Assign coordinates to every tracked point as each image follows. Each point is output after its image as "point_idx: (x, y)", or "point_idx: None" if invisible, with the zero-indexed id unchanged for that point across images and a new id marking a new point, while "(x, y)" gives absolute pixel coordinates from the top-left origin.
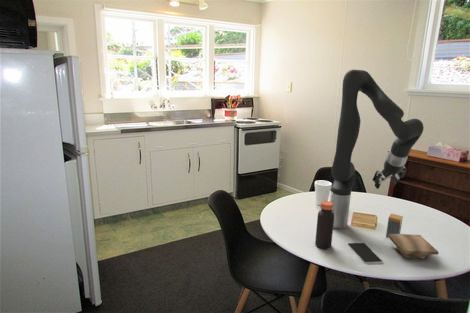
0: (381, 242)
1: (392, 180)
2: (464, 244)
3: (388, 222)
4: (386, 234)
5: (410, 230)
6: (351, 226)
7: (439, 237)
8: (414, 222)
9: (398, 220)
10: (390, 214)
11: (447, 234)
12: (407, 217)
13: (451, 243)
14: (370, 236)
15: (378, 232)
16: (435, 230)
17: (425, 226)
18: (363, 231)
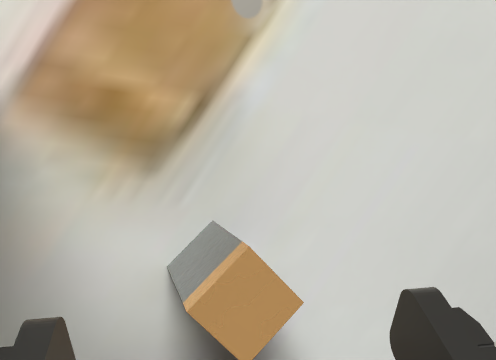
0: (94, 333)
1: (430, 340)
2: None
3: (182, 297)
4: (169, 271)
5: (351, 206)
6: (5, 110)
7: None
8: (433, 119)
9: (233, 353)
10: (230, 266)
11: (486, 260)
12: (440, 53)
13: None
14: (66, 259)
15: (153, 213)
16: (466, 217)
17: (453, 170)
18: (56, 191)
